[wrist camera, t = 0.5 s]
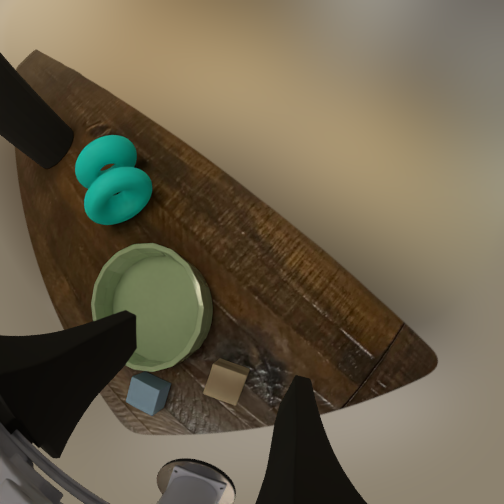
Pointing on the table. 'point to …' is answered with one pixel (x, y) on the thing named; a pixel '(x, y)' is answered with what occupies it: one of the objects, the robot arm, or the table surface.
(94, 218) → the donuts
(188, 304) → the green shallow bowl
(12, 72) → the vase
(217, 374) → the brown block
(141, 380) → the blue block
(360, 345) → the table surface
